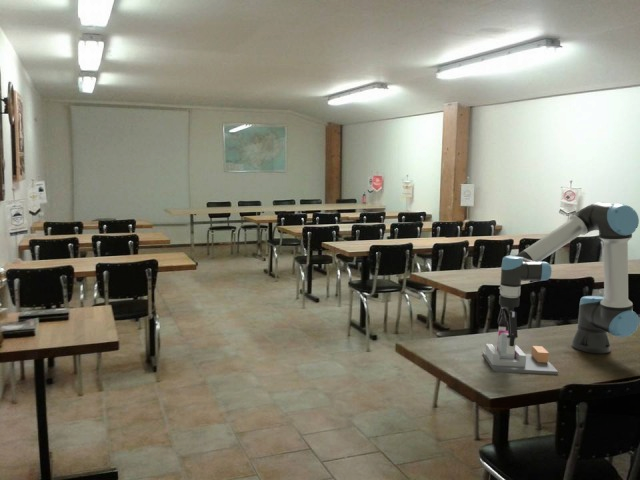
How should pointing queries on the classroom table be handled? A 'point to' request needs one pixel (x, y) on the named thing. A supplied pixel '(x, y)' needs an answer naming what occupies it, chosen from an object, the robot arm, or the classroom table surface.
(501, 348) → the supplement box
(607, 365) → the classroom table surface
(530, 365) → the block
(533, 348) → the block
